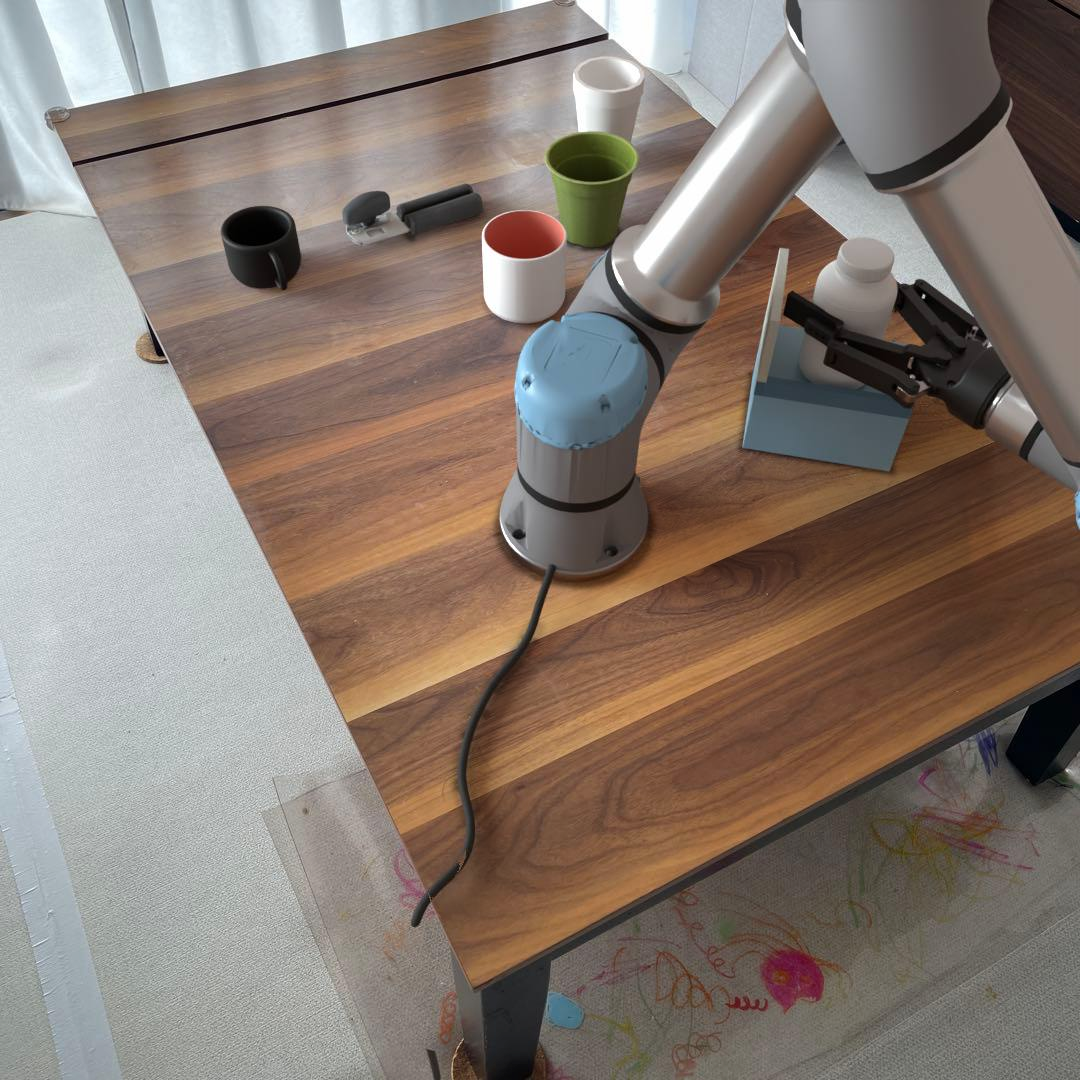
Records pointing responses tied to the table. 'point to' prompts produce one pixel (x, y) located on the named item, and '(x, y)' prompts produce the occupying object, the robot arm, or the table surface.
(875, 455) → the bookend
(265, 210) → the mug
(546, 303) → the cup
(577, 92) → the foam cup
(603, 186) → the plant pot
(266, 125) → the table surface
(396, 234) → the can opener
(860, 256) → the pill bottle
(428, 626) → the table surface
